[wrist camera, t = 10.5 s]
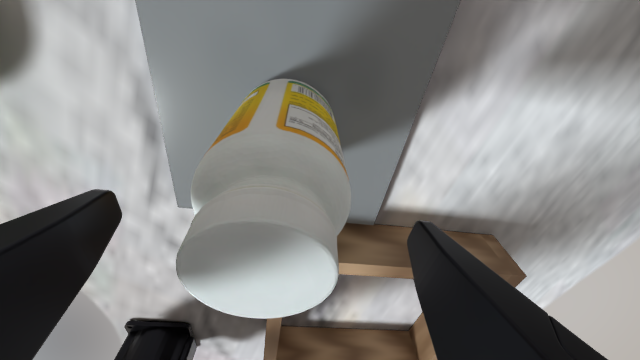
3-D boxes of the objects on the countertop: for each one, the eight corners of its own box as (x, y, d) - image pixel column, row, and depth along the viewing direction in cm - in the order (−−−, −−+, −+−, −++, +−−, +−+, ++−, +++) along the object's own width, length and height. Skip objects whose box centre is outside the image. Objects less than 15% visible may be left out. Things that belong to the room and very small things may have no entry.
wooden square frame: (267, 330, 29) (262, 371, 26) (278, 215, 19) (271, 258, 16) (414, 335, 31) (426, 374, 28) (492, 235, 21) (526, 276, 18)
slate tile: (183, 198, 18) (177, 207, 17) (135, -69, 10) (119, -76, 9) (370, 216, 20) (373, 225, 19) (450, 0, 12) (461, -1, 11)
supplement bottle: (334, 73, 12) (382, 187, 5) (334, 164, 16) (363, 324, 8) (227, 78, 12) (89, 203, 5) (248, 168, 15) (189, 336, 8)
